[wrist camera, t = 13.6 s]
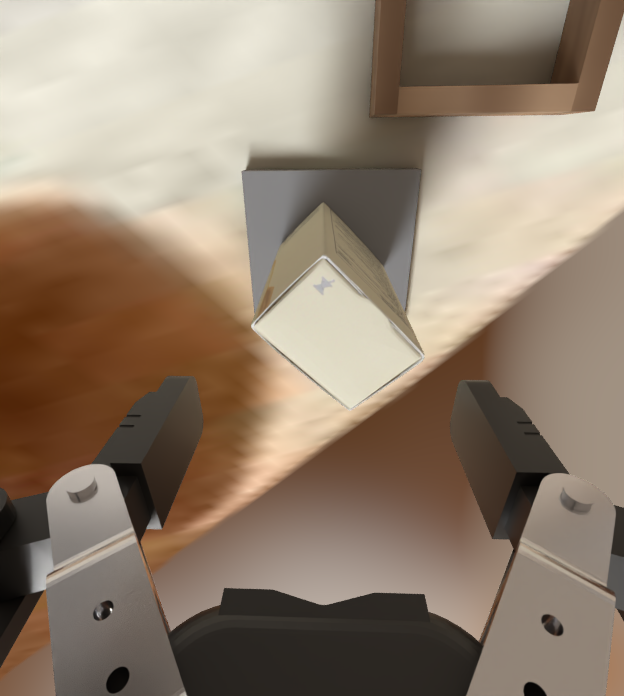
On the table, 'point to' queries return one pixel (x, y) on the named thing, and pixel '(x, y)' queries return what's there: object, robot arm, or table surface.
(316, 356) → the skincare box
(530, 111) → the pocket holder
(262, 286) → the rubber mat
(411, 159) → the table surface
